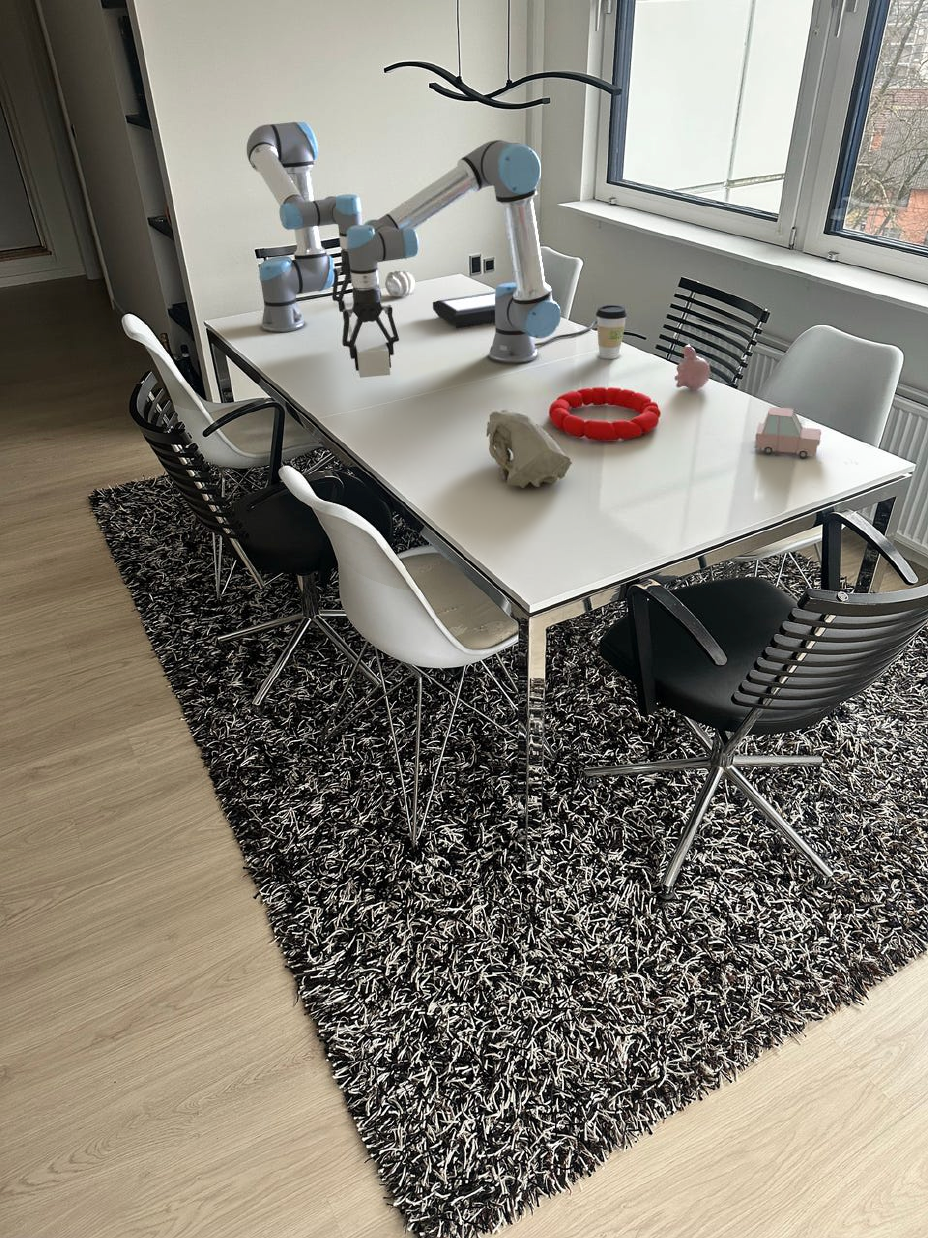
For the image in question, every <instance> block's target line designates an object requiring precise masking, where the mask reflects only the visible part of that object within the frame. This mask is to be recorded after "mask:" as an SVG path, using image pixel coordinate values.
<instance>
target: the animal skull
mask: <svg viewBox="0 0 928 1238" xmlns="http://www.w3.org/2000/svg"><path fill="white" fill-rule="evenodd" d="M486 425H487V427H486V435H485V436H486V438H487V437H489V438H488V440H489V444H488V445H489V446H488V450H489V454H490V456H491V457H492V458H493V459H494V460H495V462H496V464H497V466H499V468H500V470H501V471H502V472H501V478H502V479H507V480H506V484H507V486H517V487H518V486H519V488H523V489H524V488H526V486H527V485H529V483H531V485H533V486H534V487H536V488H540V485H541V484H542V482H544V483H549V484H550V485H553V484H555V483H556V482H557V480H561V479H563V478H565V476H566V474H567V472H568V471H569V469H570V467H571V466H572V464H573V462H572V461H571V458H570V457H568V456H567V455H565V453H564V451H562V449H561V448H560V446H559V444H557V443H556V439H555V438H554V436H553V435H551V434H550V433H548V432H547V431H546V430H545V429H544V428H542V427H541V426H539V425H538V424H537V423H536V424H535V422H534V421H533V419H532V418H531V417H530V416H529V415H527V414H524V413H519V412H515V411H509V410H507V409H502V410H500V411H499V410H495V411H492V412H491V414H489V421H487V423H486ZM511 453H512V454H511ZM511 455H512V457H513V458H512V460H511ZM507 474H508V475H507Z"/></svg>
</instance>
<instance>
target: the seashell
mask: <svg viewBox="0 0 928 1238" xmlns="http://www.w3.org/2000/svg"><path fill="white" fill-rule="evenodd" d="M415 285H416V283H415V278H414V277H413V275H412V273H409V271H405V270H395V271H391V272H388V273H387V275H386V277H385V283H384V286H385V289H386V292H387V293H388V294H389V295H390V296H392V297H394V298H397V297H407V296H408V295H410V294H411V293H412V292H413V291H414V288H415Z"/></svg>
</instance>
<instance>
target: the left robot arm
mask: <svg viewBox="0 0 928 1238" xmlns="http://www.w3.org/2000/svg"><path fill="white" fill-rule="evenodd" d="M318 156H319V146H318V140H317V138H316V135H315V132H314V131H313V129H312V127H311V126H310V125H309V124H308V123H307V122H305V121H292V122H291V121H290V122H282V123H271V124H270V123H269V124H262V125H259V126H258V127H256V128H255V129H254V130H253V131H252V132H251V133H250V135H249V137H248V140H247V143H246V157H247V160H248V162H249V165H250V166H251V167H252V168H253V170H254V171H256V172H257V173H259V174H260V176H261V177H262V179H263V181H264V183H265V184H266V186H267V187H268V189H269V190H270V192H271V193H272V195H273V197H274V198H275V200H276V201H277V204H278V205H279V206H280V207H279V212H278V213H279V214H278V215H279V220H280V222H281V225H282V227H283V228H284V229H285V230H287V231H290V230H294V235H295V243H296V250H295V251H294V253H293V257H294V259H292V258H291V257H290V256H288V255H281V256H274V257H271V258H268V259H267V258H266V259H265V260H263V261H262V262H261V263H260V265H259V266H258V270H259V271H258V273H259V280H260V287H261V292H262V299H263V313H262V319H261V326H262V330H264V331H265V332H271V333H286V332H293V331H296V330H297V331H298V330H300V329H302V328H304V326H305V319H304V317H303V314H302V312H301V310H300V307H299V306H298V305H299V304H298V303H297V295H303V294H308V293H314V292H322V291H326V290H329V289H331V288H332V295H331V297H332V298H331V299H332V301H334V302H337V304H338V311H339V313H342V318H343V320H344V318H345V317H344V313H343V309H345V304H344V300H343V297H345V294H346V291H347V288H348V285H349V283H350V282H351V274H350V263H349V255H348V248H347V230H348V229H349V228H350V227H352V226H355V225H363V217H362V205H361V199H360V197H359V195H357V194H350V193H349V194H347V193H346V194H341V195H337V196H336V195H334V196H333V195H329V196H326V197H324V199H322V198H321V199H316V200H315V193H314V187H313V179H312V173H311V172H312V170H313V168H314V167H315V163H314V161H315V160H317V159H318ZM331 225H332V226H333V225H337V226H338V237H339V245H340V246H339V248H340V249H341V250H340V256H341V266H340V267H335V263H334V260H333V257H332V256H331V255H329V254H327V250H326V249H325V248H324V246H322V242H321V234H320V229H319V227H323V226H331ZM341 272H342V273H343V275H344V279H343V281H342V285H341V287H340V291H339V293H338V286H339V276H340V275H341ZM378 287H379V289H380V290H381V288H380V284H379V285H378ZM381 297H382V292H381V291H380V298H381Z"/></svg>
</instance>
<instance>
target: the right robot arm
mask: <svg viewBox="0 0 928 1238" xmlns="http://www.w3.org/2000/svg"><path fill="white" fill-rule="evenodd" d="M541 174H542V166H541V161H540V158H539V157H538V155H537V153H536V152H535V150H533V149H532V148H530V147H529V146H527V145H525V144H522V143H519V142H511V141H506V140H502V139H495V140H490V141H488V142H486V143H483V144H481V145H480V146H479V147H476V148H475V149H474V150H472V151H471V152H469V153H467V154H466V155H465V156H463V157H462V158H460V159H458V161H457V164H456V166H455V167H454V168H452V169H450V170H449V171H448V172H447V173H445V174H444V175H442V176H440V177H439V178H438V179H436V180H435V181H433V182H432V183H430V184H429V185H427V186H426V187H424V188H423V189H422V190H420V191H419V192H417V193H416V194H414V195H412V196H411V197H410V198H408V199H407V200H405V201H404V202H403V203H401V204H399V205H398V206H397V207H395V208H392V210H391V211H389V212H387V213H386V214H384V215H383V216H381V217H380V218H378V219H369V220H367V221H366V222H365V223H364V224H362V225H355V226H352V227H350V228H349V229H348V230H347V248H348V255H349V263H350V274H351V280H350V282H351V287H353V288H352V289H351V291H352V296H353V303H354V304H353V307H352V308H351V309H343V312H342V314H343V313H344V317H345V318H344V319H343V329H342V331H343V332H342V338H341V339H342V340H341V343H342V346H343V347H347V348H349V349H348V350H349V357H350V359H351V360H353V359H354V369H355V371H356V372H359V369H358V359H357V349H356V345H354V344H355V341H356V338H357V336H358V333H359V330H360V327H361V325H362V323H363V322H364V323H365V322H369V321H370V322H375V321H376V322H377V324H378V325H379V327H380V329H381V331H382V334H383V337H384V338H385V339H386V341H385V342H386V345H387V348H388V351H389V364H390V369H391V368H392V362H391V361H392V360H391V356H394V355H395V353H394V352H395V350H394V344H395V343H397V342H399V341H400V337H399V334H398V330H397V326H396V323H395V319H394V317H393V306H392V305H391V304H387V305H383V304H382V301H381V297H380V292H381V288H380V280H379V278H380V277H379V267H378V266H379V265H378V264H379V263H383V262H389V261H397V260H398V261H399V260H404V259H405V260H406V259H410V258H413V257H416V256H417V255H418V252H419V250H420V249H419V248H420V242H419V238H418V234H417V232H416V229H417V228H419V227H420V226H421V225H423V224H425V223H426V222H428V221H429V220H431V219H432V218H434V217H435V216H436V215H438V214H440V213H441V212H443V211H444V210H446V209H447V208H448V207H450V206H452V205H453V204H454V203H456V202H458V201H459V200H460V199H462V198H463V197H465V196H466V195H467V194H469V193H473V194H475V193H477V192H479V191H480V190H482V189H484V188H487V187H493V189H494V196H495V201H496V203H498V204H500V205H501V206H502V209H503V210H502V211H503V216H504V222H505V227H506V228H505V229H506V233H507V239H508V246H509V251H510V258H511V262H512V263H511V265H512V270H513V276H514V281H513V282H506V283H500V284H498V285H497V286H496V287H495V289H494V292H495V297H494V298H495V323H494V328H495V329H494V337H493V339H492V340H493V341H492V345H491V346H490V349H489V358H490V359H491V360H492V361H494V362H497V363H501V364H509V365H510V364H511V365H512V364H516V365H517V364H525V363H528V362H532V361H534V360H535V359H537V356H538V355H537V354H538V353H537V352H538V351H537V347H539V346H543V345H546V344H549V343H550V342H552V341H554V340H557V339H562V338H567V337H573V336H574V337H575V336H578V335H582V334H584V333H587V332H588V331H590V330H591V329H592V328H593V326H595V325H597V323H598V319H596V320H595V321H592V322H591V323H590V325H589V326H588V327H587V328H585V329H582V330H579V331H576V332H572V333H565V334H559V335H556V336H553V337H551V338H549V336H551V335H553V333H554V332H555V331H556V329H557V327H559V325H560V322H561V318H562V311H561V308H560V306H559V304H558V303H557V302H556V301H554V300H553V294H552V288H551V287H552V286H550V285H549V284H548V283H547V282H546V281H545V276H544V275H545V274H544V267H543V262H542V255H541V248H540V241H539V234H538V228H537V220H536V214H535V207H534V198H535V197H536V195H537V194H538V189H537V186H538V184H539V180H540V179H541V176H542V175H541ZM378 285H379V287H378ZM379 288H380V289H379ZM383 311H384V314H385V315H386V316H387V318H388V322H389V325H390V329H391V332H392V335H393V336H391V334H390V333H389V331H388V329H387V328H386V326H385V324H384V323H383V320H382V319H381V318H380V315H381V314H382V312H383ZM352 313H354V314H355V315H356V316H357V317H358V318H357V321H356V324H355V327H354V330H353V333H352V335H351V338H350V337H349V332H348V330H349V317H351V314H352ZM589 329H590V330H589ZM547 337H548V339H547V340H545V341H541V342H537V343H535V341H534V338H535V339H546V338H547ZM348 338H349V340H348Z"/></svg>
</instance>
